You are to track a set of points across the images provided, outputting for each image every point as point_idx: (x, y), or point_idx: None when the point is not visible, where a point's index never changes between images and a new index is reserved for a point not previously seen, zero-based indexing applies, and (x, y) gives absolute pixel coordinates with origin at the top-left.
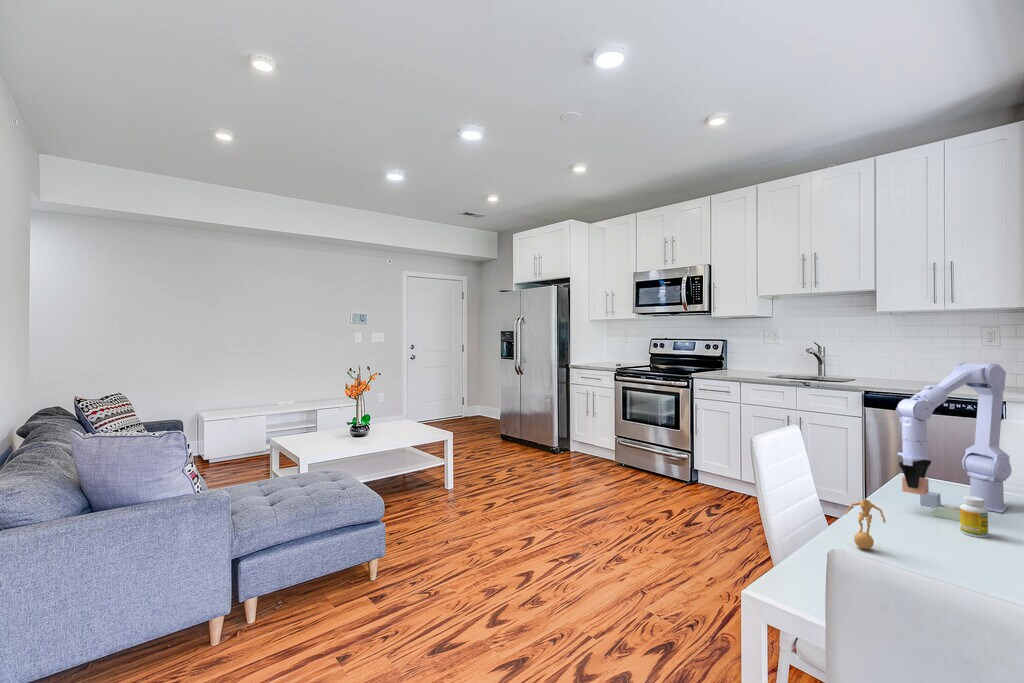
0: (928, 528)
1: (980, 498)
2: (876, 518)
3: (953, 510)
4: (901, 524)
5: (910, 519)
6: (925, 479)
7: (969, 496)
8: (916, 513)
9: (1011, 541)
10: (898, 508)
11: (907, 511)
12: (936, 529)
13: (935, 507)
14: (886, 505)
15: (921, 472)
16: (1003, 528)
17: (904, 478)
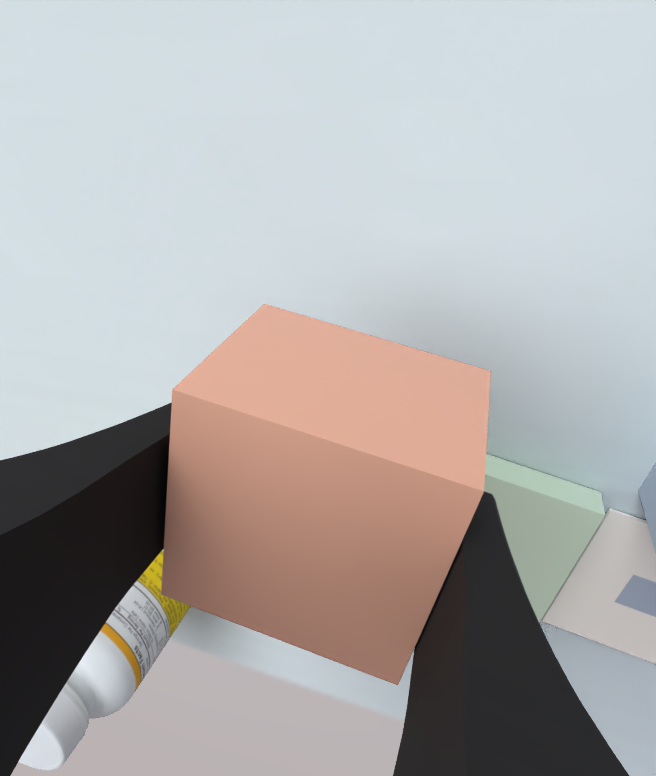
0: (91, 363)
1: (37, 762)
2: (32, 35)
3: (522, 576)
4: (40, 219)
5: (199, 280)
6: (310, 641)
7: (36, 731)
8: (397, 333)
9: (178, 634)
10: (480, 202)
11: (418, 272)
12: (107, 399)
13: (645, 489)
14: (541, 82)
15: (418, 716)
16: (369, 679)
17: (174, 414)
